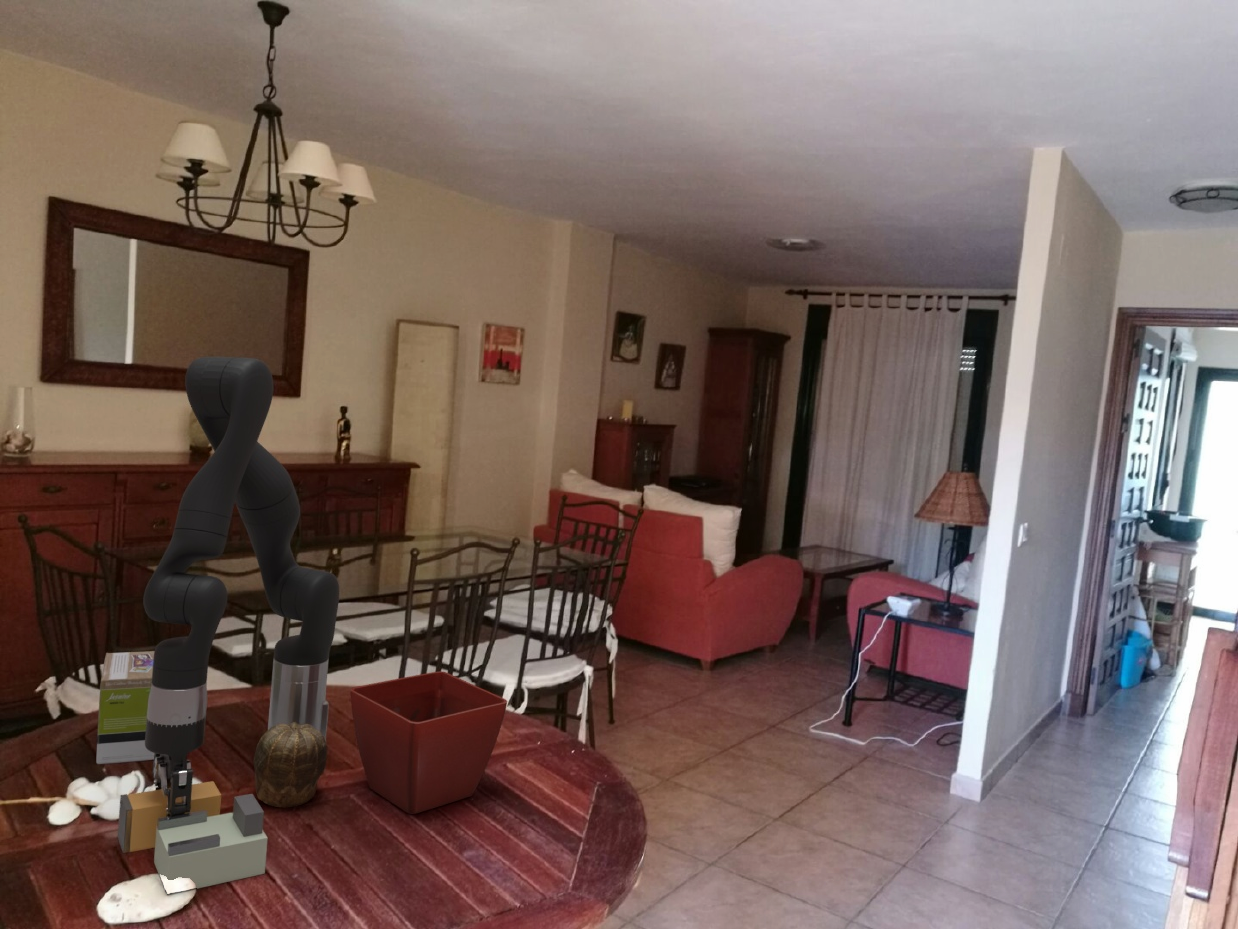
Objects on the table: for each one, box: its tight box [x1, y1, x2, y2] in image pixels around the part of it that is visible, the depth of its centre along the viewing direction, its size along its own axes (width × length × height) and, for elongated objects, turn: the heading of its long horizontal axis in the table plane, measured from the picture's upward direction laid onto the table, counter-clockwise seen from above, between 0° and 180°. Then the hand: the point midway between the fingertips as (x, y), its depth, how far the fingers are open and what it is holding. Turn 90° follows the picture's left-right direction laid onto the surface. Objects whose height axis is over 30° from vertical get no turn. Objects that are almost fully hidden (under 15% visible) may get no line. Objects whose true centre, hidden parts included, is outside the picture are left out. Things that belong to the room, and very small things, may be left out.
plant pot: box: [349, 670, 508, 815], centre depth 149 cm, size 19×19×17 cm
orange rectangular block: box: [117, 780, 222, 854], centre depth 127 cm, size 12×5×6 cm, turn 127°
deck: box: [153, 793, 268, 889], centre depth 120 cm, size 12×9×8 cm
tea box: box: [95, 650, 155, 765], centre depth 155 cm, size 15×10×15 cm, turn 27°
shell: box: [253, 722, 328, 809], centre depth 142 cm, size 11×11×12 cm
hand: (167, 824), depth 128 cm, fingers open, 8 cm apart
